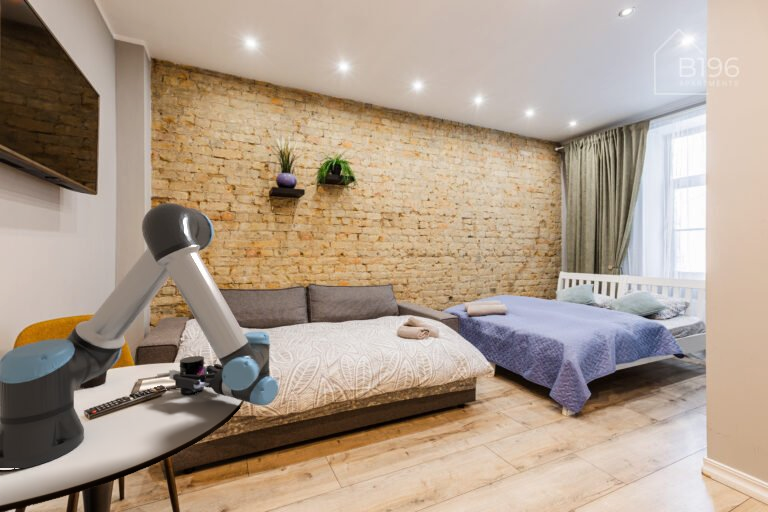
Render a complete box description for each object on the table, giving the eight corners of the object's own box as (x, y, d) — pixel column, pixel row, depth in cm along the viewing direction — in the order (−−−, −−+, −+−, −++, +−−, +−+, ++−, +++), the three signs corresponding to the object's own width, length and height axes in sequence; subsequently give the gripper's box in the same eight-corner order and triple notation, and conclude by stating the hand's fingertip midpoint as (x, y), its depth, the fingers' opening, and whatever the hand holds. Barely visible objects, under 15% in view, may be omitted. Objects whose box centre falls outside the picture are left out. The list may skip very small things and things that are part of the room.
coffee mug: (116, 380, 118) (116, 351, 118) (92, 390, 110) (92, 359, 109) (85, 378, 119) (85, 350, 119) (60, 388, 111) (59, 357, 111)
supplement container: (184, 398, 104) (184, 364, 104) (176, 392, 108) (176, 359, 108) (207, 391, 109) (207, 358, 109) (199, 386, 113) (199, 354, 113)
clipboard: (192, 386, 113) (192, 381, 113) (132, 396, 105) (132, 391, 105) (191, 373, 125) (191, 369, 125) (138, 381, 117) (138, 376, 117)
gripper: (200, 409, 92) (150, 393, 102) (257, 383, 109) (209, 372, 119) (200, 381, 92) (150, 368, 102) (257, 360, 109) (209, 351, 119)
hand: (182, 370), depth 111 cm, fingers closed on supplement container, 7 cm apart
